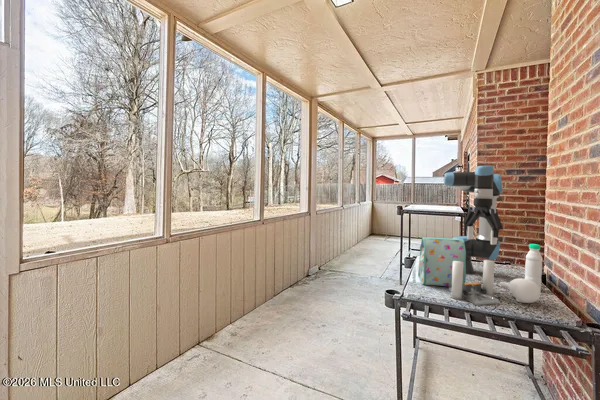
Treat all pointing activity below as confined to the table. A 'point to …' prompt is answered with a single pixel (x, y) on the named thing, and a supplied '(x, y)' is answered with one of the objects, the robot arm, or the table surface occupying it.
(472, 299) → the plate
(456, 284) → the white tapered rounded cylinder
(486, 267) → the off-white domed rod
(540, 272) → the water bottle
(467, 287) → the orange-faced thin slab
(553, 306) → the table surface
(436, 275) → the lunch bag
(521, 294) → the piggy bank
